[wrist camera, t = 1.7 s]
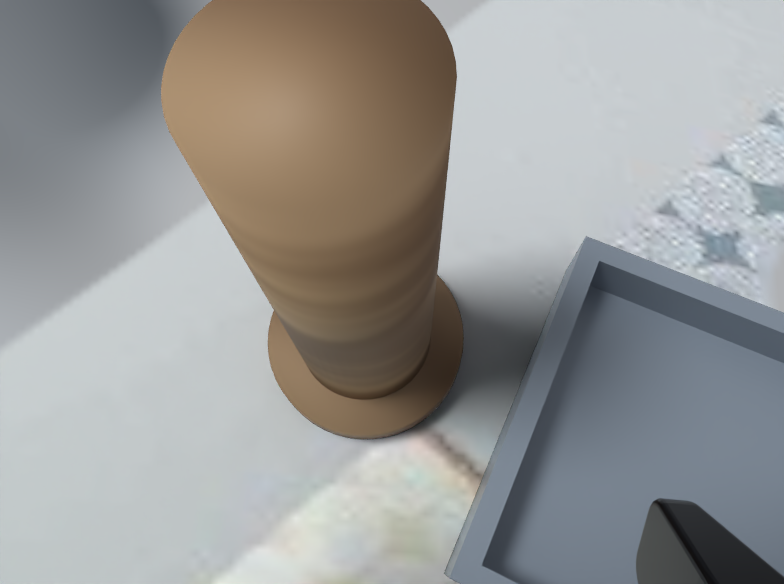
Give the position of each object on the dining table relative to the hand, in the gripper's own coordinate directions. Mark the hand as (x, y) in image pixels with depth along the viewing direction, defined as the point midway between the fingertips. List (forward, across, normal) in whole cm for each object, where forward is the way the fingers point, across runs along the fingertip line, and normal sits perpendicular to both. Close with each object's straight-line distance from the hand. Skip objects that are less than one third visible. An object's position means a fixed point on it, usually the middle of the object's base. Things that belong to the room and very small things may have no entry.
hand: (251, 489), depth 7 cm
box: (+10, -9, +7) cm, 15 cm away
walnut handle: (+12, 0, +5) cm, 13 cm away
